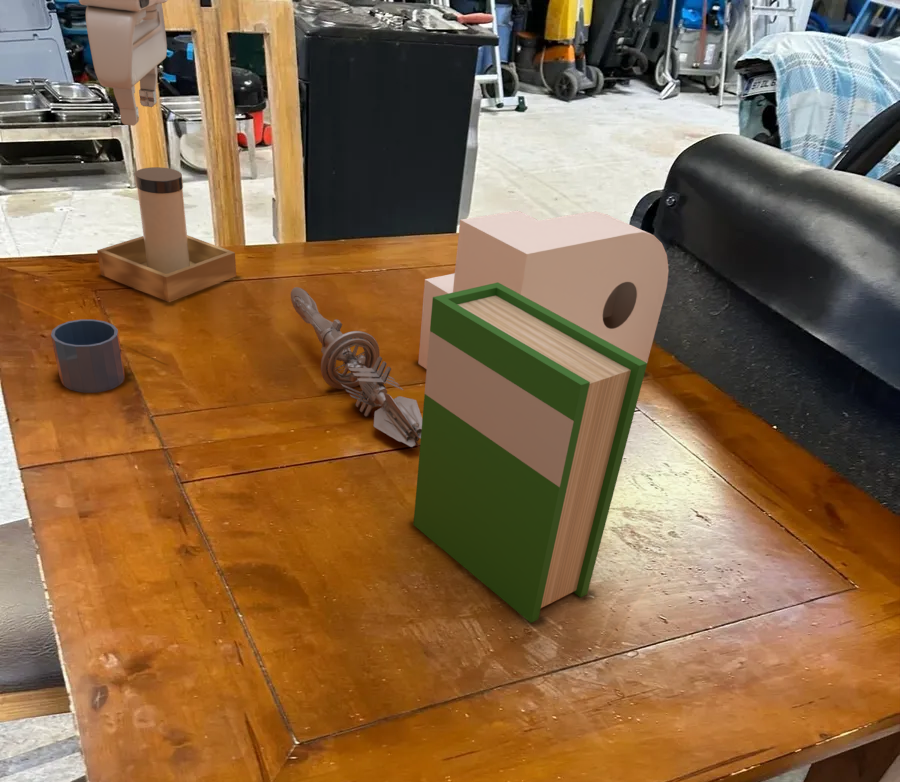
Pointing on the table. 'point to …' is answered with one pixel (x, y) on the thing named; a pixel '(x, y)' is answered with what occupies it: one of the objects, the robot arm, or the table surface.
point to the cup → (88, 355)
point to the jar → (163, 218)
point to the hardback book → (521, 443)
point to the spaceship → (361, 373)
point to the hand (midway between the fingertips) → (140, 114)
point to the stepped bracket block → (564, 272)
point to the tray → (203, 272)
